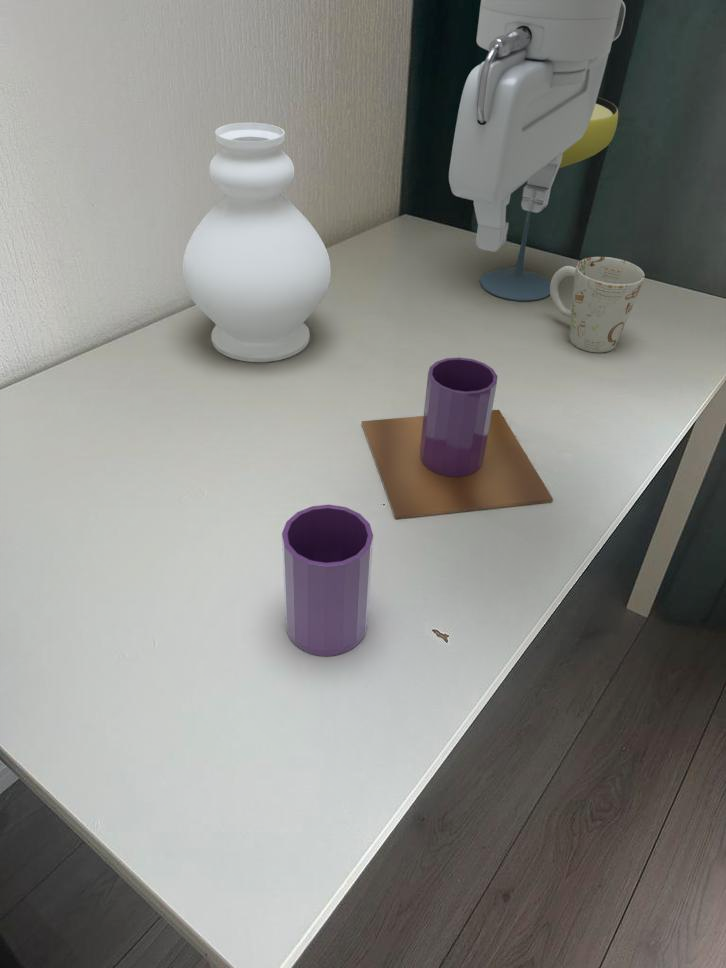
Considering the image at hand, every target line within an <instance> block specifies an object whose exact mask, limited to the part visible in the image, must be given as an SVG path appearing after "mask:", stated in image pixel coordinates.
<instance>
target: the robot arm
mask: <svg viewBox="0 0 726 968" xmlns="http://www.w3.org/2000/svg"><path fill="white" fill-rule="evenodd" d="M626 10H627V9H626V4H625V2H624V1H623V0H480V5H479V14H478V23H477V31H476V40H475V41H476V44H477V46H478V47H480V48H481V49H484V50H486V51H488V53H487V55H486V58H485V59H484V61H481V63H479V64H478V65H476V66H475V67H474V68H472V69H471V71H470V73H469V74H468V76H467V78H466V80H465V83H464V85H463V89H462V93H461V97H460V102H459V106H458V107H459V108H458V112H457V117H456V124H455V131H454V136H453V142H452V149H451V154H450V155H451V156H450V163H449V168H448V169H449V170H448V183H449V187H450V190H451V193H452V195H453V196H455V197H458V198H461V199H466V200H470V201H473V203H472V204H473V208H474V213H475V218H476V222H477V228H476V229H477V230H476V238H475V239H476V240H475V245H476V247H477V248H478V249H479V250H482V251H487V252H490V253H496V252H498V251H499V250H500V249H501V248H502V246H504V245H505V244H506V242H507V235H508V231H509V225H510V222H507V221H506V220H507V218H506V217H507V206H508V205H509V204H510V200H511V195H512V194H513V193H514V192H515V191H517V190H518V189H520V187H521V186H523V185H524V184H525V186H523V190H522V199H521V202H520V207H521V209H522V210H523V211H525V212H527V211H531V213H534V214H538V213H540V212H542V211H543V210H544V209H545V208H547V206H548V204H549V200H550V195H551V191H552V186H553V184H554V182H555V178H556V176H557V174H558V171H559V169H560V168H559V166H560V164H561V160H562V155H563V152H564V151H566V150H567V149H568V148H569V147H571V146H572V145H573V144H575V143H576V142H577V141H578V140H580V139H581V138H582V137H583V135H584V133H585V131H586V129H587V127H588V124H589V122H590V119H591V117H592V114H593V110H594V107H595V103H596V100H597V97H599V92H600V89H601V86H602V82H603V78H604V74H605V70H606V67H607V63H608V58H609V54H610V52H611V48H612V44H613V42H614V41H616V40H617V39H619V37H620V36H621V33H622V30H623V27H624V22H625V17H626Z"/></svg>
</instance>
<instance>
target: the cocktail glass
mask: <svg viewBox="0 0 726 968" xmlns="http://www.w3.org/2000/svg"><path fill="white" fill-rule="evenodd" d="M618 121H619V109H618V107H617V105H615V104H614V103H612V102H611V101H609V100H607V99H604V98H602V97H599V96H597V100H596V103H595V107H594V110H593V114H592V117H591V119H590V122H589V124H588V127H587V129H586V131H585V133H584V135H583V137H582V138H581V139H580V140H578V141H577V142H576V143H575V144H573V145H572V146H571V147H569V148H568V149H567V150H566V151H564V152H563V155H562V160H561V164H560V166H559V169H562V168H564V167H567V166H570V165H573V164H577V163H579V162H582V161H585V160H587V159H589V158H591V157H593V156H595V155H597V154H599V153H600V152H601V151H603V150H604V149H605V148H607V147H608V146H609V145H610V143H611V142H612V140H613V139H614V136H615V134H616V131H617V127H618ZM531 216H532V211H526V215H525V220H524V225H523V231H522V237H521V242H520V247H519V252H518V257H517V261H516V264H515V266H514V268H498V269H493V270H492V269H491V270H489V271H486V272H485V273H483V275H482V276H481V277H480V280H479V284H480V286H481V287H482V289H483V290H484V291H485V292H487V293H488V294H490V295H492V296H494V297H497V298H499V299H504V300H507V301H513V302H536V301H540V300H544V299H546V298H547V297H549V296H551V294H550V284H551V280H549V278H547V277H546V276H544V275H541V274H540V273H537V272H534V271H530V270H526V269H524V267H525V266H524V265H525V263H524V262H525V255H526V247H527V241H528V234H529V228H530V227H529V226H530V223H531V222H530V221H531Z"/></svg>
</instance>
